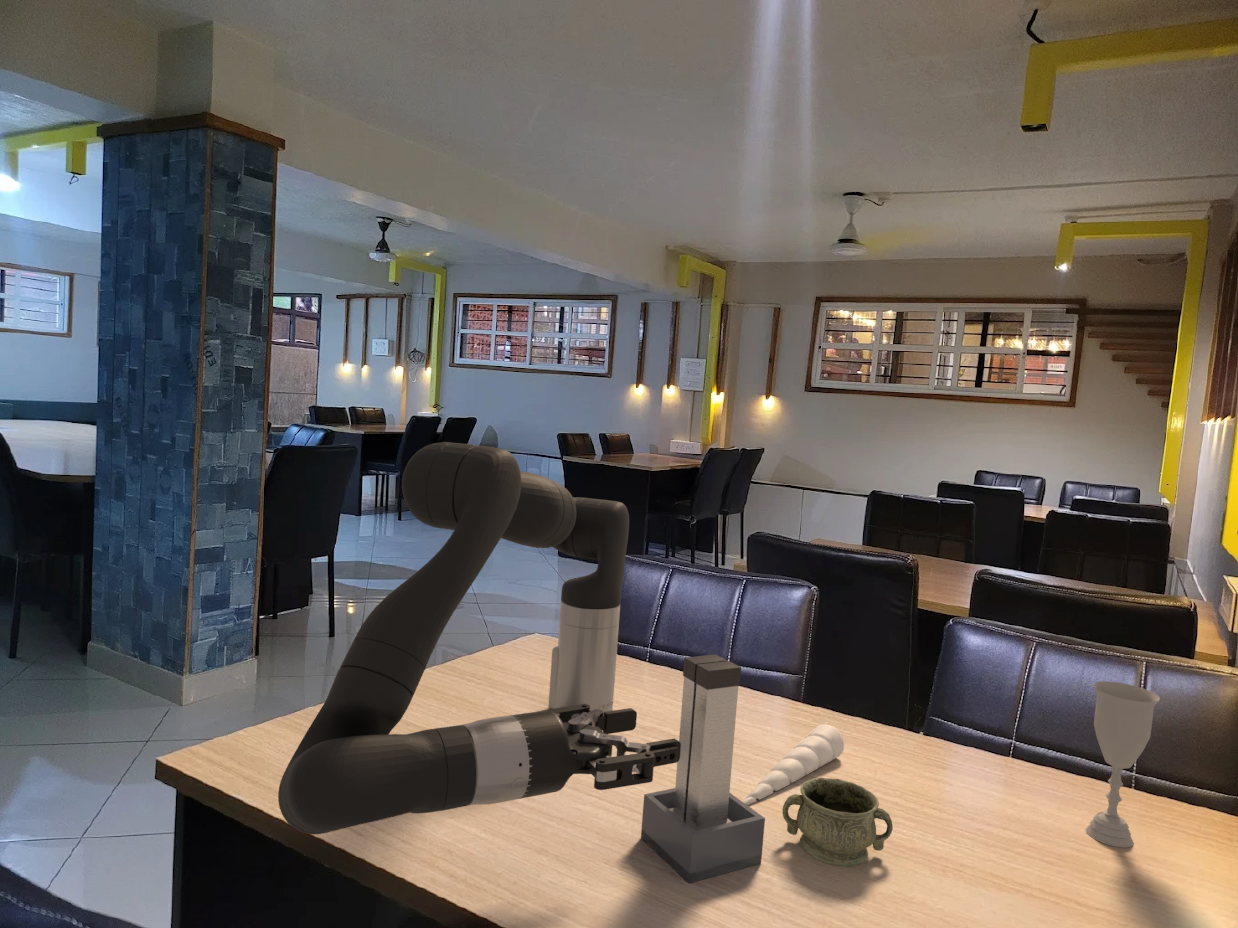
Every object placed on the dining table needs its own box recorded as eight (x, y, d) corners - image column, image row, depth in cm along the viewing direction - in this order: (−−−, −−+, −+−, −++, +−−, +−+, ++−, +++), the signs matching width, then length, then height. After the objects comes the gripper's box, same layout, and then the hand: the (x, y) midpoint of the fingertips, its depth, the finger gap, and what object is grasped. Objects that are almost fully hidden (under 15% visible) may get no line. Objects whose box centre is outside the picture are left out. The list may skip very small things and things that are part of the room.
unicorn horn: (716, 798, 102) (719, 761, 102) (815, 750, 119) (817, 718, 119) (747, 813, 99) (751, 774, 99) (844, 761, 116) (847, 729, 116)
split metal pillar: (691, 858, 85) (706, 671, 84) (666, 834, 90) (680, 657, 88) (730, 848, 88) (745, 667, 87) (703, 826, 92) (717, 653, 91)
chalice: (1142, 858, 94) (1161, 706, 93) (1075, 838, 98) (1092, 692, 96) (1142, 833, 100) (1158, 690, 99) (1078, 815, 104) (1094, 677, 103)
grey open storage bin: (688, 883, 83) (692, 835, 82) (640, 837, 91) (644, 794, 90) (761, 863, 87) (765, 818, 87) (709, 821, 95) (712, 780, 95)
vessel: (779, 858, 89) (784, 803, 88) (780, 820, 97) (784, 769, 97) (894, 879, 86) (900, 822, 86) (885, 837, 95) (890, 785, 94)
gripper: (544, 748, 70) (698, 723, 78) (485, 692, 82) (624, 676, 91) (538, 832, 71) (692, 799, 79) (481, 764, 83) (619, 741, 91)
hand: (655, 733), depth 85 cm, fingers open, 8 cm apart
